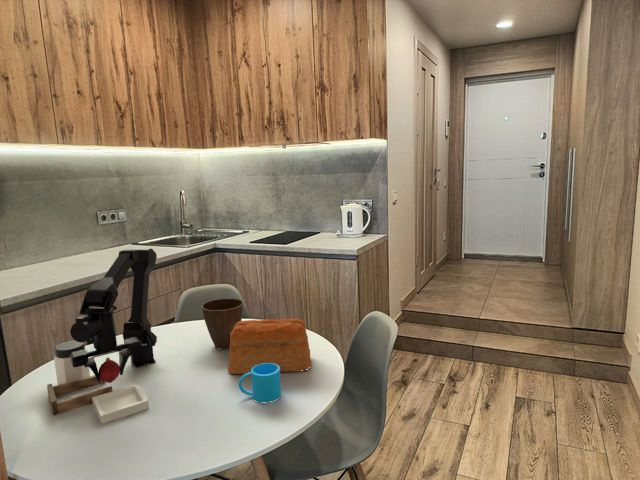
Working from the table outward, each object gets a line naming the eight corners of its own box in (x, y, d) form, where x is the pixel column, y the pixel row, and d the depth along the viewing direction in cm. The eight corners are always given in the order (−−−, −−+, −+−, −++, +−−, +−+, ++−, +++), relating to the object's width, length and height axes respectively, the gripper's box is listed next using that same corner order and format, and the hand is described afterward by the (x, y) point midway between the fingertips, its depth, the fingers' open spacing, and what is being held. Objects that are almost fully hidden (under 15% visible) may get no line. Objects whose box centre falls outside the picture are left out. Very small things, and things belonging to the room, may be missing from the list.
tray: (137, 391, 129) (136, 384, 129) (149, 408, 120) (148, 400, 119) (92, 405, 122) (92, 397, 122) (101, 424, 113) (100, 415, 112)
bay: (104, 381, 136) (103, 369, 135) (113, 397, 126) (111, 384, 125) (48, 397, 127) (46, 384, 126) (53, 415, 117) (51, 402, 116)
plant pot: (196, 348, 160) (192, 306, 157) (226, 335, 172) (223, 296, 169) (224, 357, 151) (221, 313, 149) (253, 342, 163) (251, 301, 161)
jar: (58, 390, 131) (53, 353, 129) (57, 380, 138) (52, 344, 136) (91, 382, 136) (87, 345, 134) (88, 372, 142) (84, 337, 141)
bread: (233, 358, 151) (230, 316, 148) (310, 354, 152) (309, 313, 149) (226, 376, 137) (223, 331, 135) (311, 373, 138) (309, 327, 135)
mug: (281, 388, 129) (280, 362, 127) (280, 402, 121) (279, 375, 119) (240, 390, 128) (239, 364, 127) (237, 405, 120) (235, 377, 119)
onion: (124, 382, 131) (121, 357, 130) (104, 389, 127) (101, 364, 126) (116, 376, 135) (113, 352, 134) (97, 383, 131) (93, 358, 130)
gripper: (130, 314, 140) (135, 360, 143) (64, 328, 129) (71, 377, 132) (140, 324, 131) (145, 372, 134) (69, 340, 120) (76, 392, 123)
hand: (110, 378), depth 131 cm, fingers closed on onion, 6 cm apart
